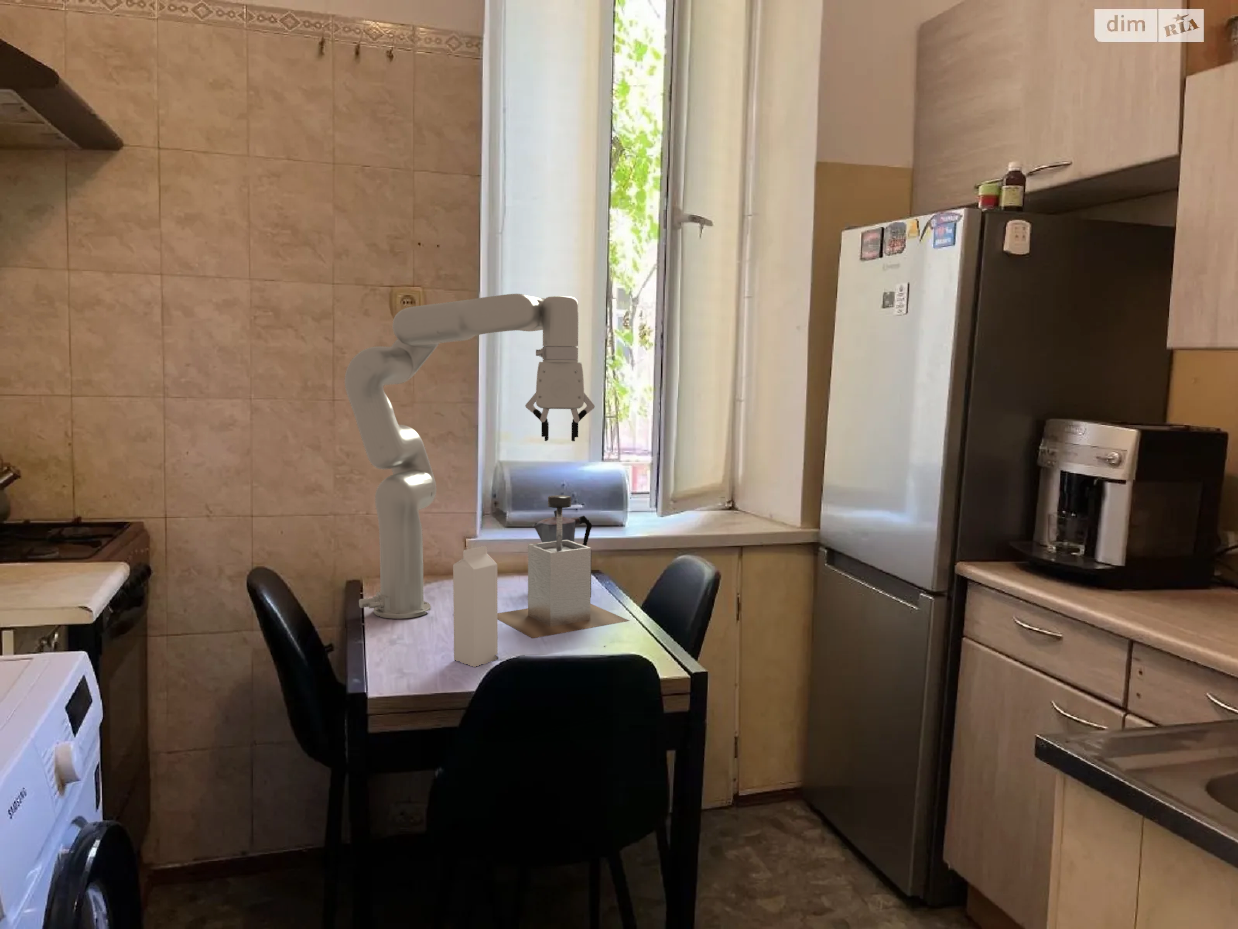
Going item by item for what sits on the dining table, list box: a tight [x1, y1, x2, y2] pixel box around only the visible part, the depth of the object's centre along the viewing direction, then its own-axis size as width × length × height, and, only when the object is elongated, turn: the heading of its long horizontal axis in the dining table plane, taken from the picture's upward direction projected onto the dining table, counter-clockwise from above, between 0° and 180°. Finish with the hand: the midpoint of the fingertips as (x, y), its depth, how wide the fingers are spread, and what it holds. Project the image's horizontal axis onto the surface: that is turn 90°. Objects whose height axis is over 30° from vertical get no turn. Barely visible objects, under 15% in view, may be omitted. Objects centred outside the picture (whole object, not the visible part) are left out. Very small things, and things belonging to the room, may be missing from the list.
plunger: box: [545, 494, 572, 552], centre depth 199 cm, size 8×8×13 cm
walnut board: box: [497, 603, 630, 639], centre depth 201 cm, size 24×20×1 cm
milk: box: [452, 545, 499, 668], centre depth 175 cm, size 6×6×22 cm
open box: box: [527, 540, 593, 627], centre depth 201 cm, size 13×10×16 cm
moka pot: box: [532, 509, 593, 547], centre depth 230 cm, size 10×15×20 cm, turn 115°
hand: (559, 439), depth 197 cm, fingers open, 5 cm apart
